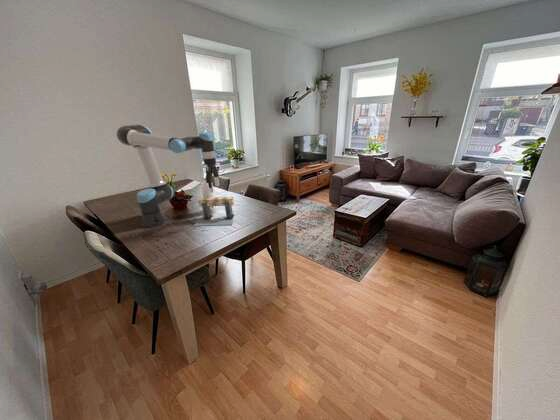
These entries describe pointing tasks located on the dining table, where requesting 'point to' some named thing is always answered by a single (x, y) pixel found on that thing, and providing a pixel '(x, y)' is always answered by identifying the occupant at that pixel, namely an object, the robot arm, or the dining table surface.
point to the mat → (214, 223)
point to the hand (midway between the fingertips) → (214, 189)
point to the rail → (216, 201)
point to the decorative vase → (209, 196)
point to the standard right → (228, 212)
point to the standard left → (206, 212)
